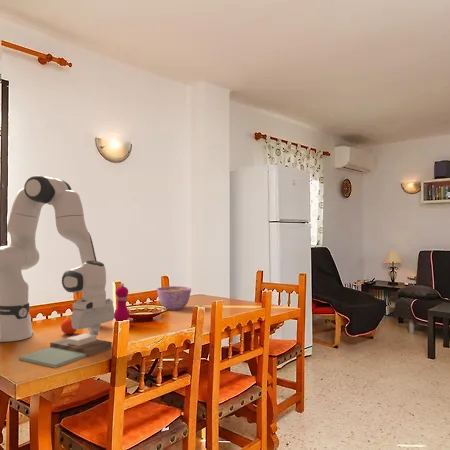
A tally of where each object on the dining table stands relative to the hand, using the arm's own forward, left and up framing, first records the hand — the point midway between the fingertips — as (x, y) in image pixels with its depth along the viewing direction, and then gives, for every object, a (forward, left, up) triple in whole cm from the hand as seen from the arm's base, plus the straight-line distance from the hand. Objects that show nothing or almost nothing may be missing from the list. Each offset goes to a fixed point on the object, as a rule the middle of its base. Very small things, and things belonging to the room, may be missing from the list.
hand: (93, 336), depth 167 cm
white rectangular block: (0, -6, -1) cm, 6 cm away
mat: (0, -20, -3) cm, 20 cm away
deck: (0, -7, -3) cm, 8 cm away
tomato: (-21, +7, -4) cm, 22 cm away
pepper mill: (-13, +31, -4) cm, 34 cm away
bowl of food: (-14, +77, -4) cm, 79 cm away
